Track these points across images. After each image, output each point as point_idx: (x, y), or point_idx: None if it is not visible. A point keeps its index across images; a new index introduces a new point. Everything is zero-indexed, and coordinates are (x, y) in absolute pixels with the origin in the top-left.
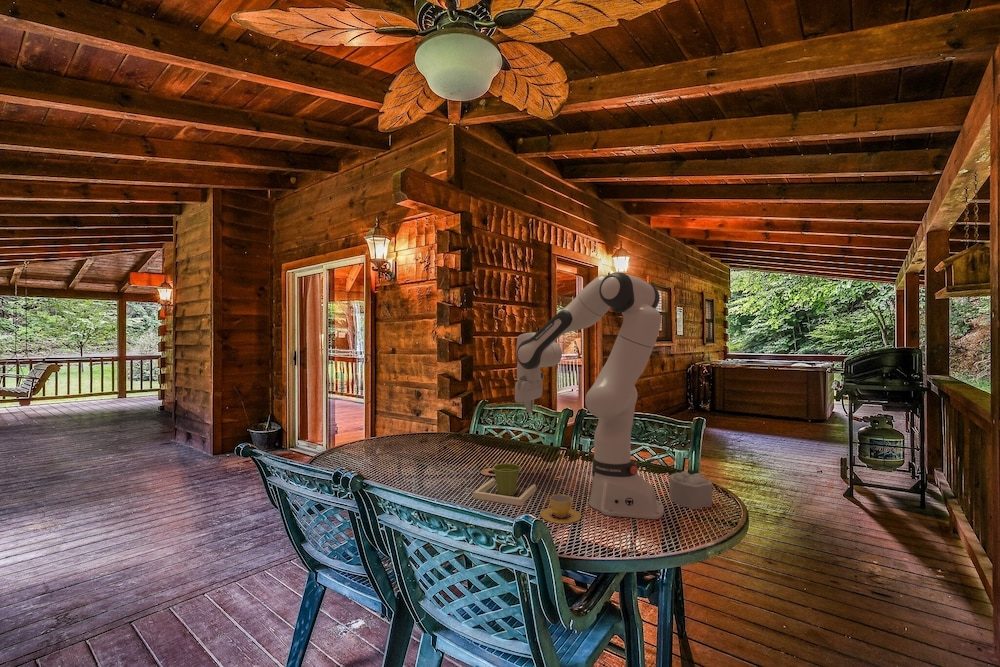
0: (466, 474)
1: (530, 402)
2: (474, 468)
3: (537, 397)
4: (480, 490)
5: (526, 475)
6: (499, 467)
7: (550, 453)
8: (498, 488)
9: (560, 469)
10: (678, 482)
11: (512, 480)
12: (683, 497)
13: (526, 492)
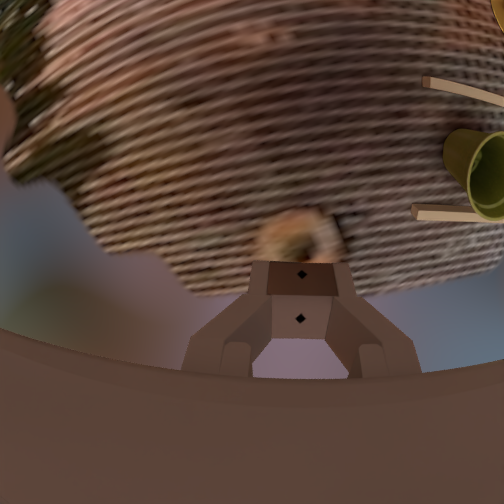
0: None
1: (366, 354)
2: None
3: (77, 360)
4: None
5: (292, 143)
6: (475, 205)
7: (41, 179)
8: (484, 175)
9: (166, 66)
10: None
11: (502, 143)
12: None
13: (489, 96)
